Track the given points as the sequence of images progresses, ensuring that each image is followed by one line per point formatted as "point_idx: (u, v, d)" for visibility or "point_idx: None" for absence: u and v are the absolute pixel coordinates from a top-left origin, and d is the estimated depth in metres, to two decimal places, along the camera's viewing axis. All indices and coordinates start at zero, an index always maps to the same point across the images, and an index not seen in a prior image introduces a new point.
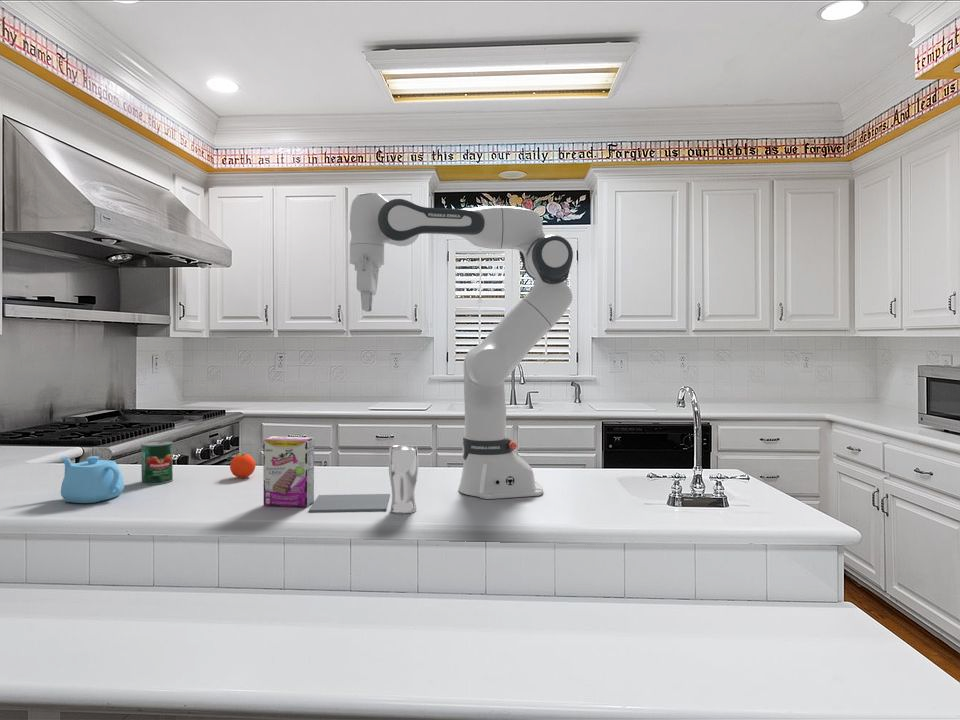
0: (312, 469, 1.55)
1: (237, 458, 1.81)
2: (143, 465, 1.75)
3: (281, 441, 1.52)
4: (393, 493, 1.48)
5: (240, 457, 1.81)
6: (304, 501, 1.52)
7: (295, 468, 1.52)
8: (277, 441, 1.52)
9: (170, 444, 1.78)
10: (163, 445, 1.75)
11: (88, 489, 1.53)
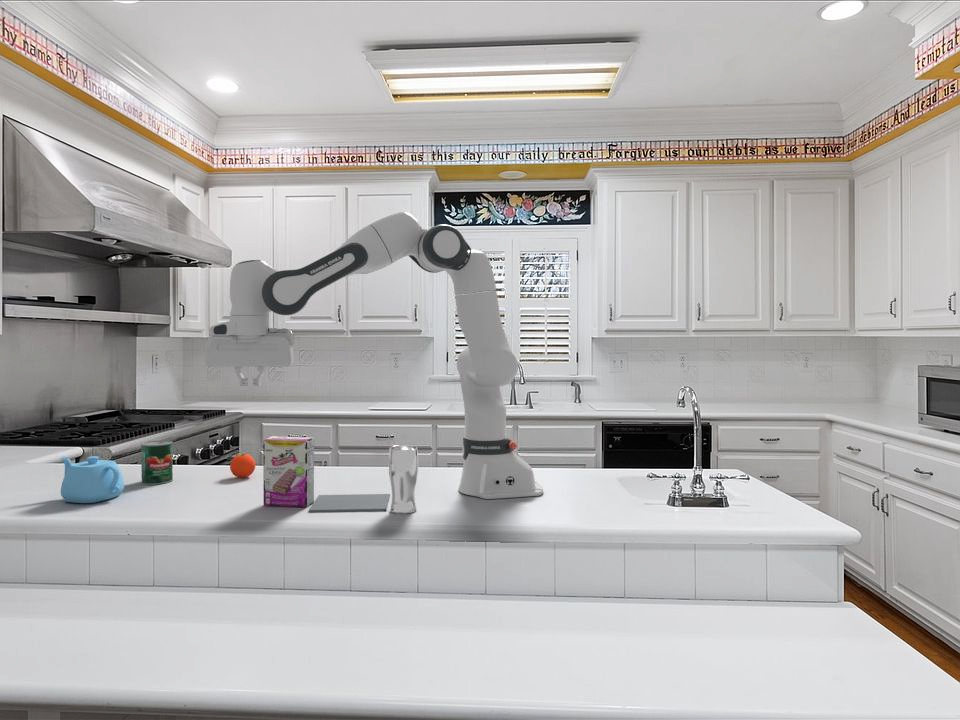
0: (312, 469, 1.55)
1: (237, 458, 1.81)
2: (143, 465, 1.75)
3: (281, 441, 1.52)
4: (393, 493, 1.48)
5: (240, 457, 1.81)
6: (303, 501, 1.52)
7: (295, 468, 1.52)
8: (277, 441, 1.52)
9: (170, 444, 1.78)
10: (163, 445, 1.75)
11: (88, 489, 1.53)
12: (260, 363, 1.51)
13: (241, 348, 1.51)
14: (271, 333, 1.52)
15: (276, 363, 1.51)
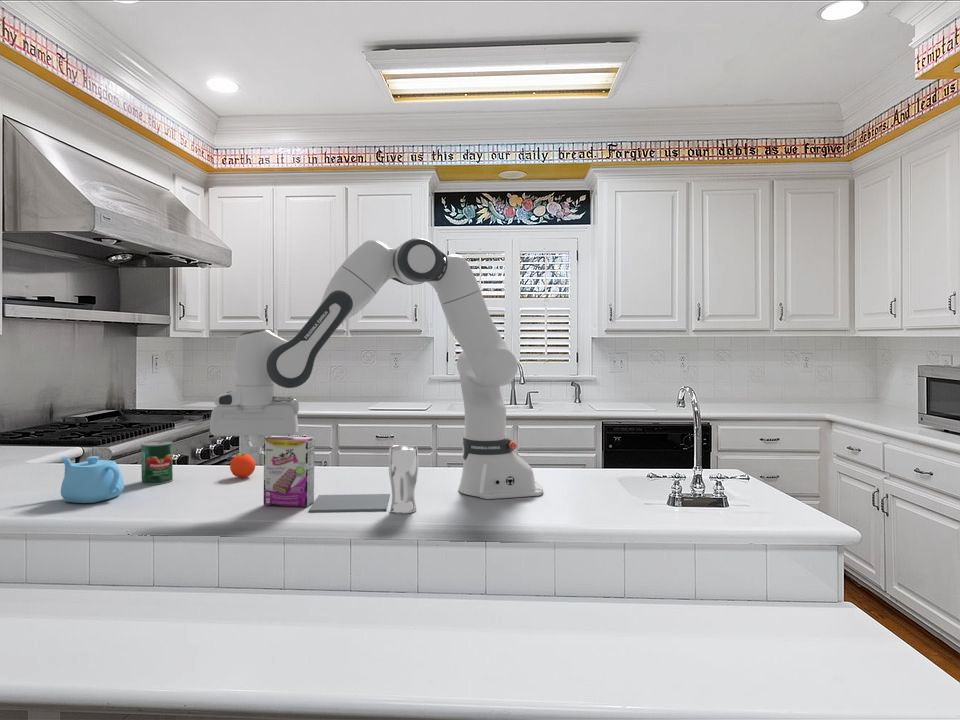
0: (312, 468, 1.55)
1: (237, 458, 1.81)
2: (143, 465, 1.75)
3: (282, 441, 1.52)
4: (393, 493, 1.48)
5: (240, 457, 1.81)
6: (304, 501, 1.52)
7: (295, 468, 1.52)
8: (278, 441, 1.52)
9: (170, 444, 1.78)
10: (163, 445, 1.75)
11: (88, 489, 1.53)
12: (265, 432, 1.52)
13: (245, 418, 1.52)
14: (276, 402, 1.53)
15: (281, 432, 1.52)
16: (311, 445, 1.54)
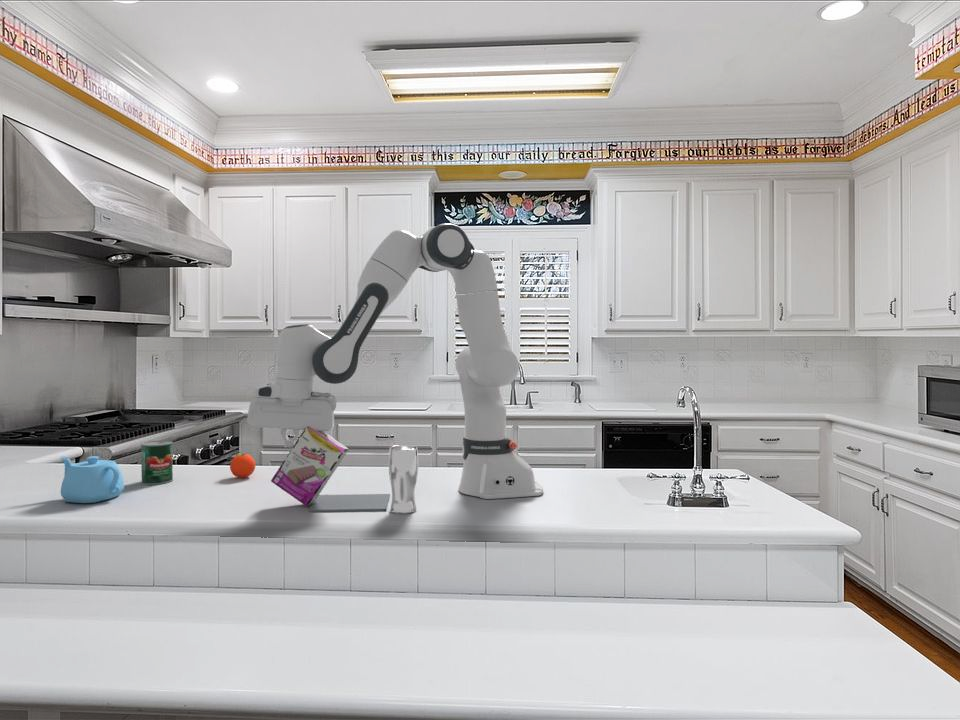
0: (331, 475, 1.54)
1: (237, 458, 1.81)
2: (143, 465, 1.75)
3: (321, 438, 1.51)
4: (393, 493, 1.48)
5: (240, 457, 1.81)
6: (308, 500, 1.52)
7: (318, 468, 1.51)
8: (317, 436, 1.51)
9: (170, 444, 1.78)
10: (163, 445, 1.75)
11: (88, 489, 1.53)
12: (301, 426, 1.52)
13: (283, 411, 1.52)
14: (314, 397, 1.53)
15: (317, 427, 1.52)
16: (343, 455, 1.53)
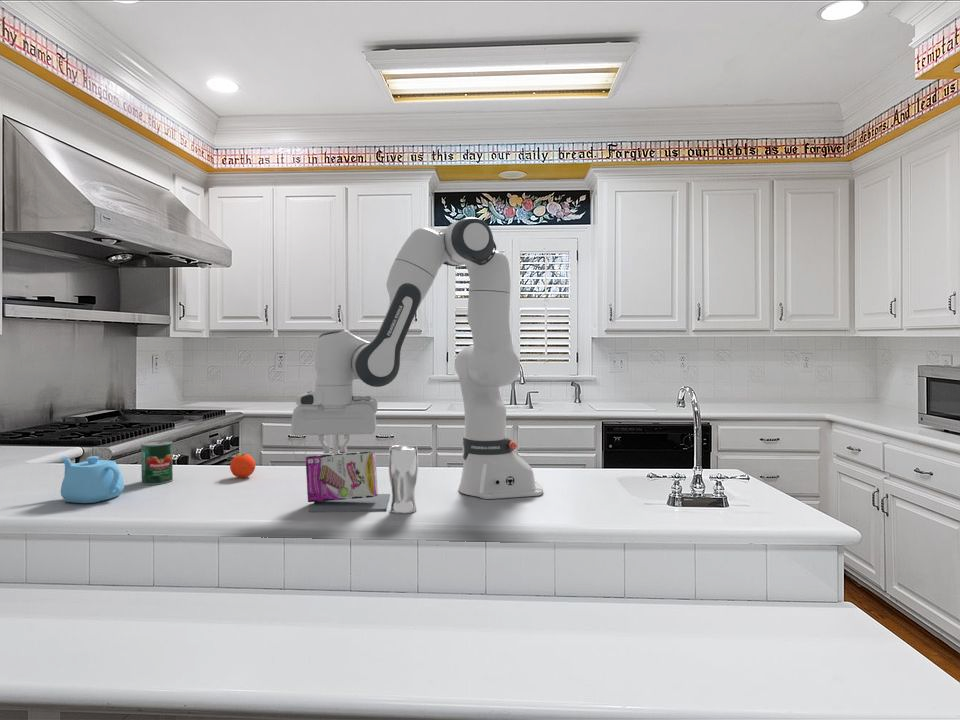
0: None
1: (237, 458, 1.81)
2: (143, 465, 1.75)
3: (371, 470, 1.53)
4: (393, 493, 1.48)
5: (240, 457, 1.81)
6: (313, 498, 1.52)
7: (345, 487, 1.52)
8: (371, 466, 1.53)
9: (170, 444, 1.78)
10: (163, 445, 1.75)
11: (88, 489, 1.53)
12: (345, 431, 1.53)
13: (326, 417, 1.53)
14: (355, 401, 1.54)
15: (361, 431, 1.53)
16: None
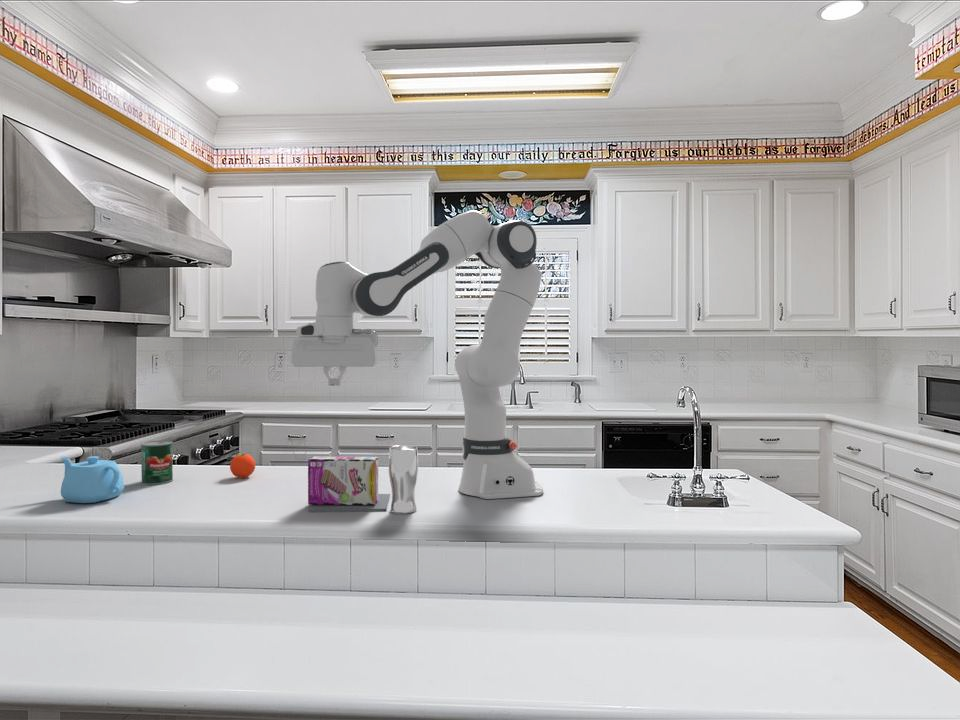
0: None
1: (237, 458, 1.81)
2: (143, 465, 1.75)
3: (373, 478, 1.52)
4: (393, 493, 1.48)
5: (240, 457, 1.81)
6: (314, 501, 1.52)
7: (346, 493, 1.52)
8: (373, 474, 1.52)
9: (170, 444, 1.78)
10: (163, 445, 1.75)
11: (88, 489, 1.53)
12: (345, 363, 1.53)
13: (326, 349, 1.53)
14: (356, 333, 1.54)
15: (361, 363, 1.53)
16: None
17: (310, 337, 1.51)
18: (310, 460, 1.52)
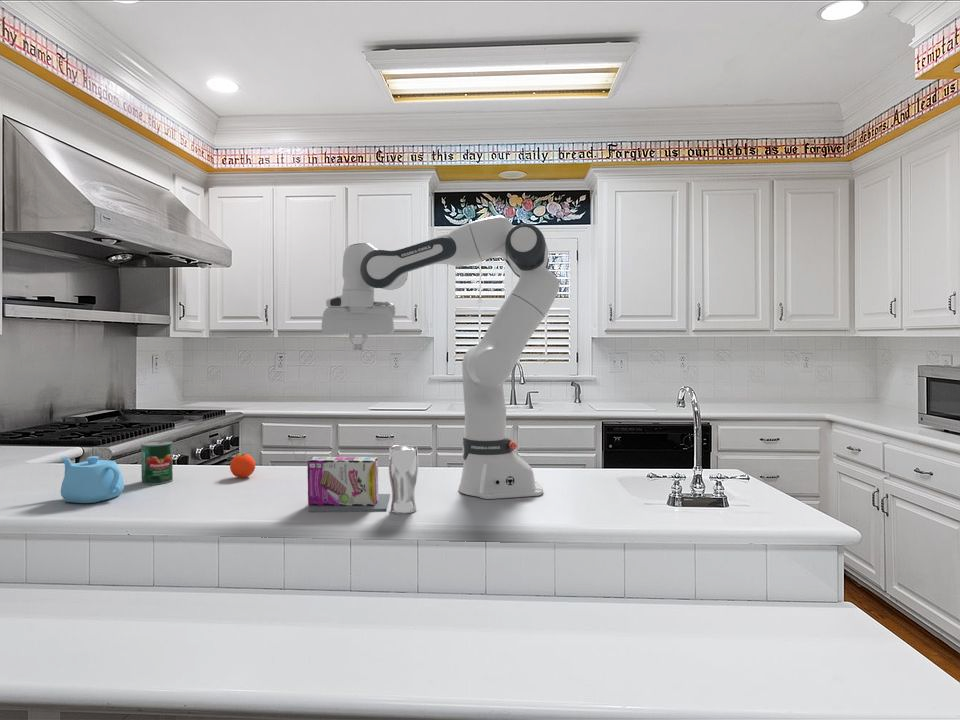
0: None
1: (237, 458, 1.81)
2: (143, 465, 1.75)
3: (373, 480, 1.51)
4: (393, 493, 1.48)
5: (240, 457, 1.81)
6: (314, 502, 1.52)
7: (346, 494, 1.51)
8: (373, 475, 1.51)
9: (170, 444, 1.78)
10: (163, 445, 1.75)
11: (88, 489, 1.53)
12: (368, 331, 1.78)
13: (351, 318, 1.78)
14: (376, 305, 1.80)
15: (381, 331, 1.79)
16: None
17: (338, 308, 1.77)
18: (309, 461, 1.51)
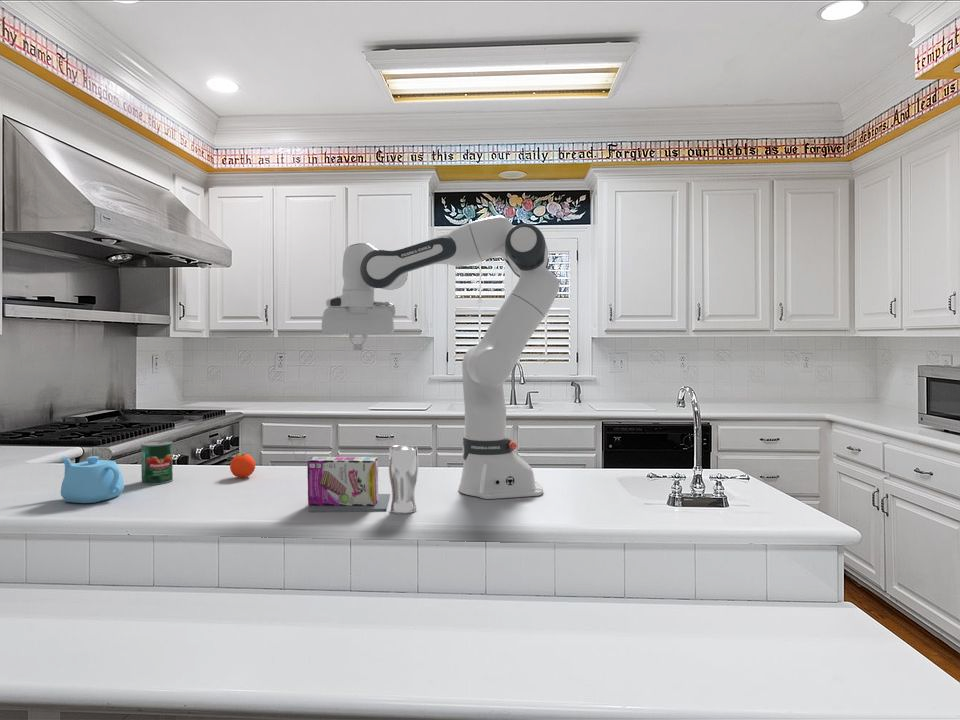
0: None
1: (237, 458, 1.81)
2: (143, 465, 1.75)
3: (373, 480, 1.51)
4: (393, 493, 1.48)
5: (240, 457, 1.81)
6: (314, 502, 1.52)
7: (346, 494, 1.51)
8: (373, 476, 1.51)
9: (170, 444, 1.78)
10: (163, 445, 1.75)
11: (88, 489, 1.53)
12: (368, 331, 1.78)
13: (351, 318, 1.78)
14: (376, 305, 1.80)
15: (381, 331, 1.79)
16: None
17: (338, 308, 1.77)
18: (309, 461, 1.51)
